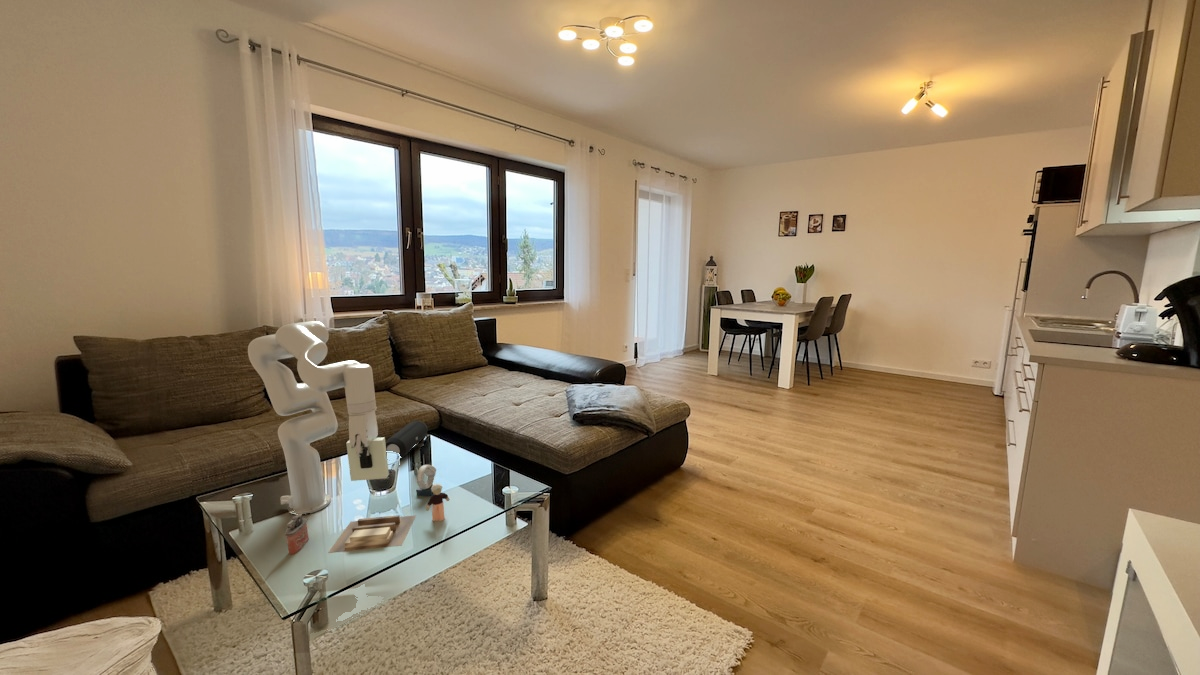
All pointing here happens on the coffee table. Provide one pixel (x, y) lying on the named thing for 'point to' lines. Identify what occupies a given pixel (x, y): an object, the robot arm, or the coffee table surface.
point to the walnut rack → (395, 523)
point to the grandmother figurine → (437, 502)
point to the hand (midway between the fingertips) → (368, 464)
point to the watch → (426, 488)
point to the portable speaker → (407, 438)
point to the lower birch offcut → (368, 542)
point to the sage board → (378, 461)
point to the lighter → (296, 534)
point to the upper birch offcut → (370, 534)
